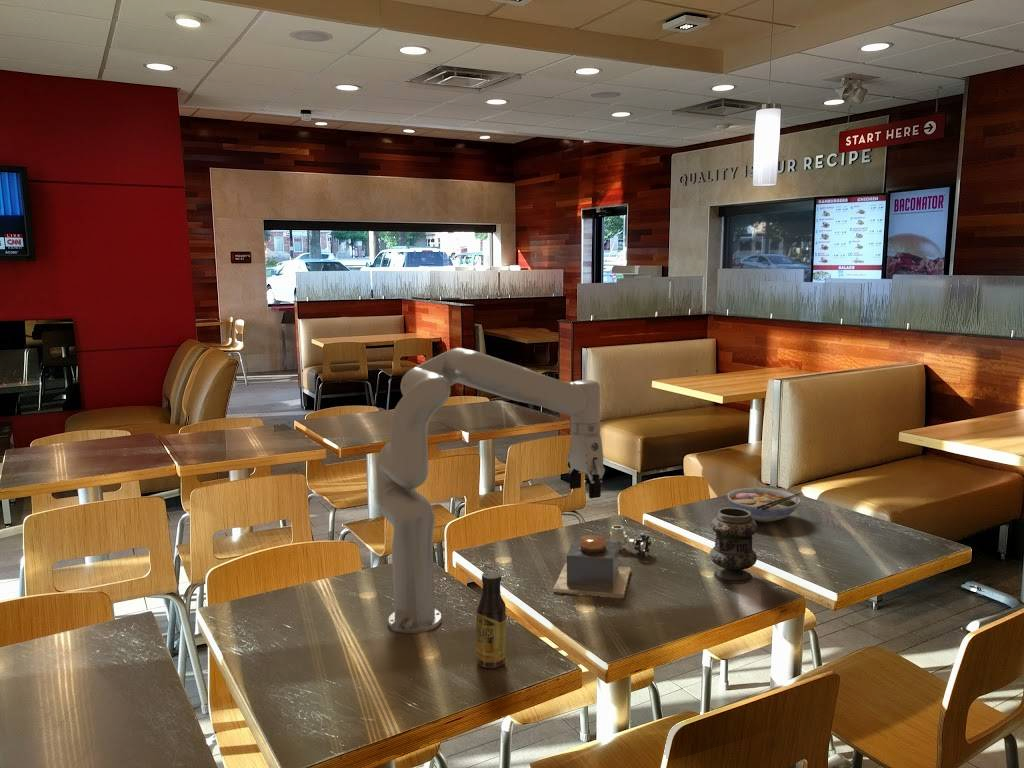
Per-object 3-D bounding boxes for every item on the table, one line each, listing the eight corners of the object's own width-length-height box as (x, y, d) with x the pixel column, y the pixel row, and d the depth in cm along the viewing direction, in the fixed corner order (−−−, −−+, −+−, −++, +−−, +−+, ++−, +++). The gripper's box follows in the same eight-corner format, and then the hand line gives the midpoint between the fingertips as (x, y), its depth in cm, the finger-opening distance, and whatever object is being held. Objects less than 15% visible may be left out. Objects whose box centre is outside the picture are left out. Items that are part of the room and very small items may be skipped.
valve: (604, 549, 231) (636, 560, 223) (604, 527, 230) (637, 537, 222) (619, 543, 236) (651, 554, 227) (619, 522, 235) (651, 532, 226)
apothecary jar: (759, 571, 212) (761, 507, 210) (752, 588, 201) (754, 521, 199) (714, 565, 217) (715, 502, 215) (705, 581, 206) (706, 515, 204)
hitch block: (623, 598, 197) (623, 563, 195) (553, 592, 201) (552, 558, 200) (630, 571, 214) (630, 539, 213) (565, 566, 218) (565, 535, 217)
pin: (604, 580, 203) (604, 545, 202) (577, 578, 205) (577, 543, 203) (607, 569, 210) (607, 535, 208) (581, 568, 211) (581, 534, 210)
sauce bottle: (470, 663, 166) (467, 574, 163) (491, 652, 170) (489, 565, 167) (491, 674, 161) (489, 582, 159) (513, 663, 166) (511, 573, 163)
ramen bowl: (754, 503, 272) (754, 480, 271) (815, 519, 255) (816, 494, 254) (710, 519, 257) (710, 495, 255) (772, 536, 239) (773, 511, 238)
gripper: (616, 433, 195) (615, 499, 198) (580, 421, 211) (580, 483, 213) (590, 436, 192) (589, 503, 194) (556, 424, 207) (556, 486, 210)
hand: (584, 492), depth 204 cm, fingers open, 9 cm apart
